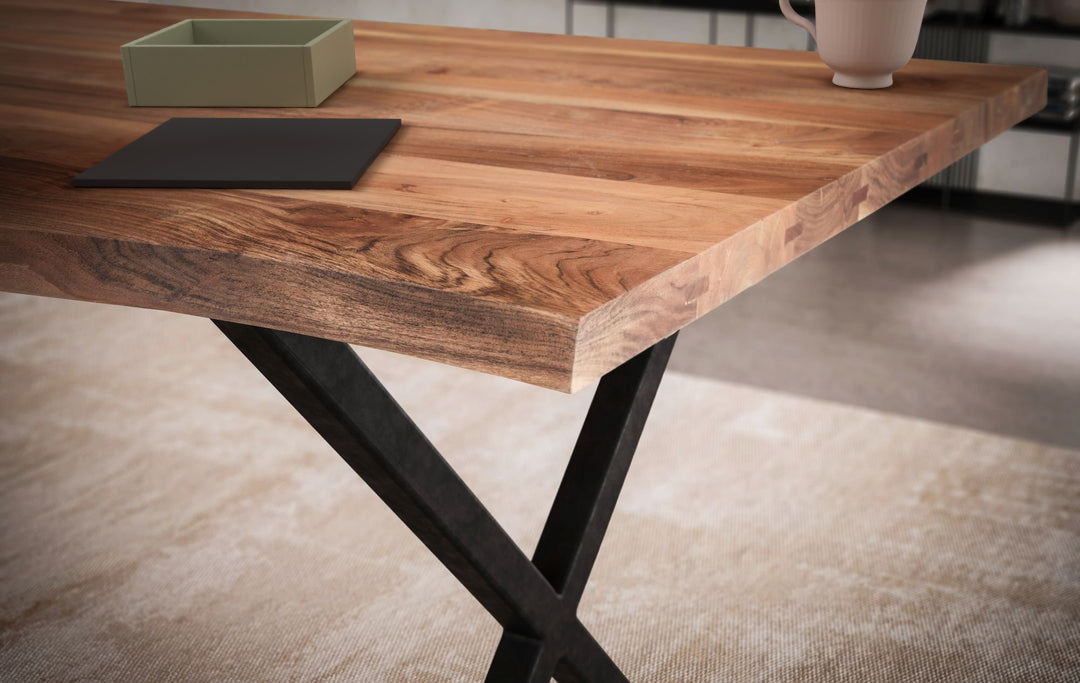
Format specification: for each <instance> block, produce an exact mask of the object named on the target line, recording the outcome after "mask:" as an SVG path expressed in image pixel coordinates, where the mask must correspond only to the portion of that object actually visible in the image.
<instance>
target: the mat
mask: <svg viewBox="0 0 1080 683" xmlns="http://www.w3.org/2000/svg"><path fill="white" fill-rule="evenodd" d="M402 124H403V123H402V118H378V117H377V118H376V117H375V118H372V117H371V118H366V117H365V118H360V117H357V118H356V117H355V118H354V117H353V118H350V117H345V118H343V117H342V118H341V117H338V118H337V117H312V118H311V117H171V118H169V119H168V120H166V121H164V122H162V123H161V124H159V125H157V126H156V127H154V128H153V129H151V130H150V131H148V132H145V134H143V135H141V136H140V137H138V138H137V139H135V140H133V141H132V142H130V143H128V144H127V145H125V146H123V147H122V148H120V149H117V151H115V152H113V153H112V154H110V155H109V156H107V157H105V158H104V159H102V160H100V161H99V162H97V163H95V164H94V165H92V166H90V167H88V168H87V169H86V170H84V171H83V172H81V173H79V174H77V175H76V176H74V177H73V178H71V182H72V187H74V188H78V187H80V188H172V189H173V188H174V189H175V188H177V189H178V188H179V189H180V188H181V189H182V188H183V189H186V188H187V189H282V190H283V189H284V190H285V189H286V190H287V189H288V190H291V189H293V190H295V189H297V190H298V189H299V190H352V189H353V187H354V186H355V185H356V184H357V182H358V181H359V180H360V179H361V177H362V176H363V175H364V173H365V172H366V171H367V170H368V169H369V167H370V166H371V165H372V164H373V162H374V161H375V160H376V158H377V157H378V156H379V154H380V153H381V152H382V151H383V150H384V148H386V146H387V144H388V143H389V142H390V140H392V138H393V137H394V136H395V134H396V133H397V132H398V131H399V129H400V128H401V126H402Z"/></svg>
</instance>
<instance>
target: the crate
mask: <svg viewBox="0 0 1080 683" xmlns="http://www.w3.org/2000/svg"><path fill="white" fill-rule="evenodd" d="M354 32H355V31H354V19H353V18H186V19H184V20H182V21H179V22H177V23H174V24H172V25H170V26H167V27H165V28H161V29H160V30H157V31H154V32H152V33H149V34H147V35H144V36H142V37H140V38H138V39H135V40H132V41H130V42H127V43H124V44H122V45H120V54H121V59H122V67H123V74H124V79H125V86H126V94H127V100H128V106H129V107H162V108H163V107H164V108H165V107H166V108H167V107H174V108H176V107H177V108H178V107H179V108H180V107H183V108H185V107H187V108H188V107H192V108H193V107H195V108H198V107H199V108H200V107H201V108H203V107H204V108H205V107H206V108H229V107H230V108H317V107H318V106H319V105H321V103H323V102H324V101H325V100H326V99H327V98H328V97H330V96H331V95H332V94H333V93H335V92H336V91H337V90H338V89H339V88H340V87H341V86H343V84H345V83H346V82H347V81H349V79H350V78H352V77H353V76H354V75H355V74H357V62H356V61H357V60H356V59H357V58H356V47H355V46H356V45H355V33H354Z"/></svg>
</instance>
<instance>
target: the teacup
mask: <svg viewBox="0 0 1080 683" xmlns="http://www.w3.org/2000/svg"><path fill="white" fill-rule="evenodd" d="M806 1H807V2H809V1H811V0H806ZM778 2H779V3H778V4H779V7H780V10H781V12H782V15H784V17H785V18H786V19H787V20H788V21H789V22H791V23H792V24H794V25H795V26H799V27H800V28H802V29H805V30H806V31H807V32H808V33H809V34H810V35H811V36H812V38H813V39H814V41H815V43H816V45H817V46H816V47H817V51H818V56H819V58H820V60H821V61H822V62H823V63H824V64H825V65H826V66H827V67H828V68H830V69H832V71H834V72H833V73H834V74H833V77H832V84H834V85H836V86H837V87H838V86H839V87H843V88H849V89H861V90H863V89H864V90H867V89H868V90H872V89H873V90H874V89H875V90H876V89H884V88H889V87H890V86H892V85H893V74H894V72H896V71H898V70H900V69H902V68H903V67H904V66H905V65H907V64H908V63H909V61H910V60H911V59H912V57H913V55H914V52H915V49H916V47H917V44H918V40H919V36H920V31H921V27H922V23H923V18H924V14H925V9H926V7H927V2H928V0H814V6H815V25H814V23H813V22H811V21H810V20H808V19H807V18H805V17H803V16H801V15H800V14H798V13H797V12H796V11H795V10H794V9H793V7H792V6H791V4H790V0H779V1H778Z"/></svg>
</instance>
